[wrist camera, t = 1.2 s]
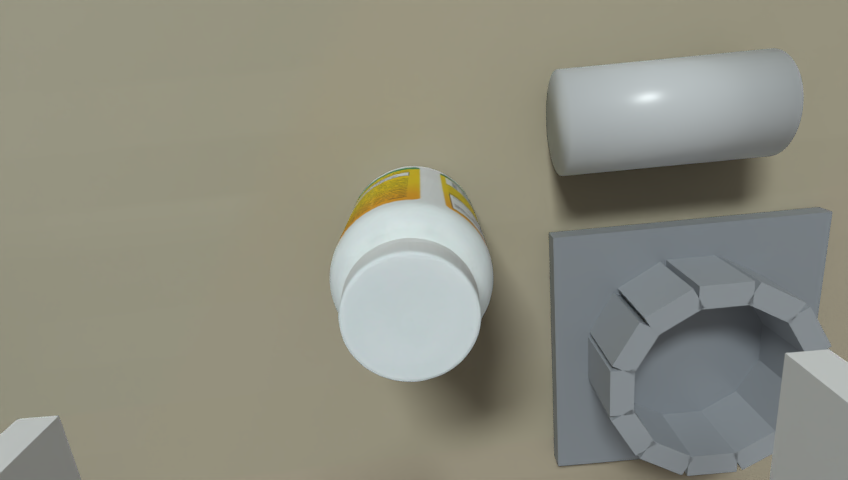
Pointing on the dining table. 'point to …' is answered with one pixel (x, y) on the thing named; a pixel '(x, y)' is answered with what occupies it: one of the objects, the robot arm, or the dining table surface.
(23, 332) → the dining table surface
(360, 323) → the supplement bottle
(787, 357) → the robot arm
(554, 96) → the pipe stub
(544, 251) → the dining table surface
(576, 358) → the coupling socket
